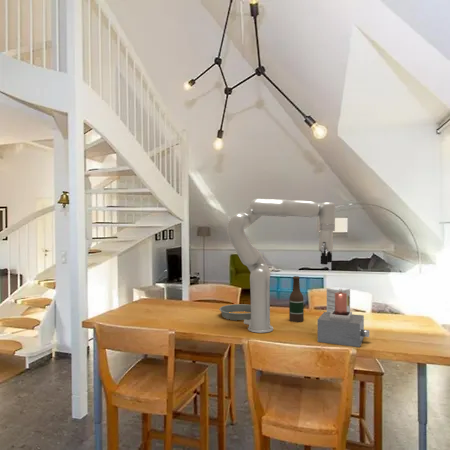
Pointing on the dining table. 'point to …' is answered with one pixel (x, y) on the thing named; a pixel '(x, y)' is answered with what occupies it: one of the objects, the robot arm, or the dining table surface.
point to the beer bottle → (296, 302)
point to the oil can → (340, 303)
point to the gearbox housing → (341, 329)
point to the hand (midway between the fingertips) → (326, 263)
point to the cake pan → (236, 308)
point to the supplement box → (331, 298)
